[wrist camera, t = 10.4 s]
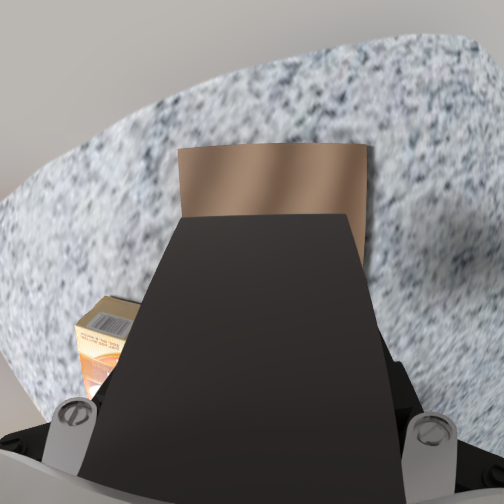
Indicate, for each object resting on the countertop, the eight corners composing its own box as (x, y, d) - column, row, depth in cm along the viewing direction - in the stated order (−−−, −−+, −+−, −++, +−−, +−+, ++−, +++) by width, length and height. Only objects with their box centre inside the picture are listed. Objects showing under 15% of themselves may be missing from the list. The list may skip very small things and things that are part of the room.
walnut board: (363, 144, 26) (366, 144, 25) (356, 304, 30) (358, 308, 29) (181, 149, 27) (177, 148, 26) (194, 304, 32) (191, 308, 31)
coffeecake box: (229, 366, 25) (212, 480, 31) (239, 322, 32) (221, 439, 38) (70, 325, 25) (99, 447, 32) (104, 293, 32) (118, 412, 38)
